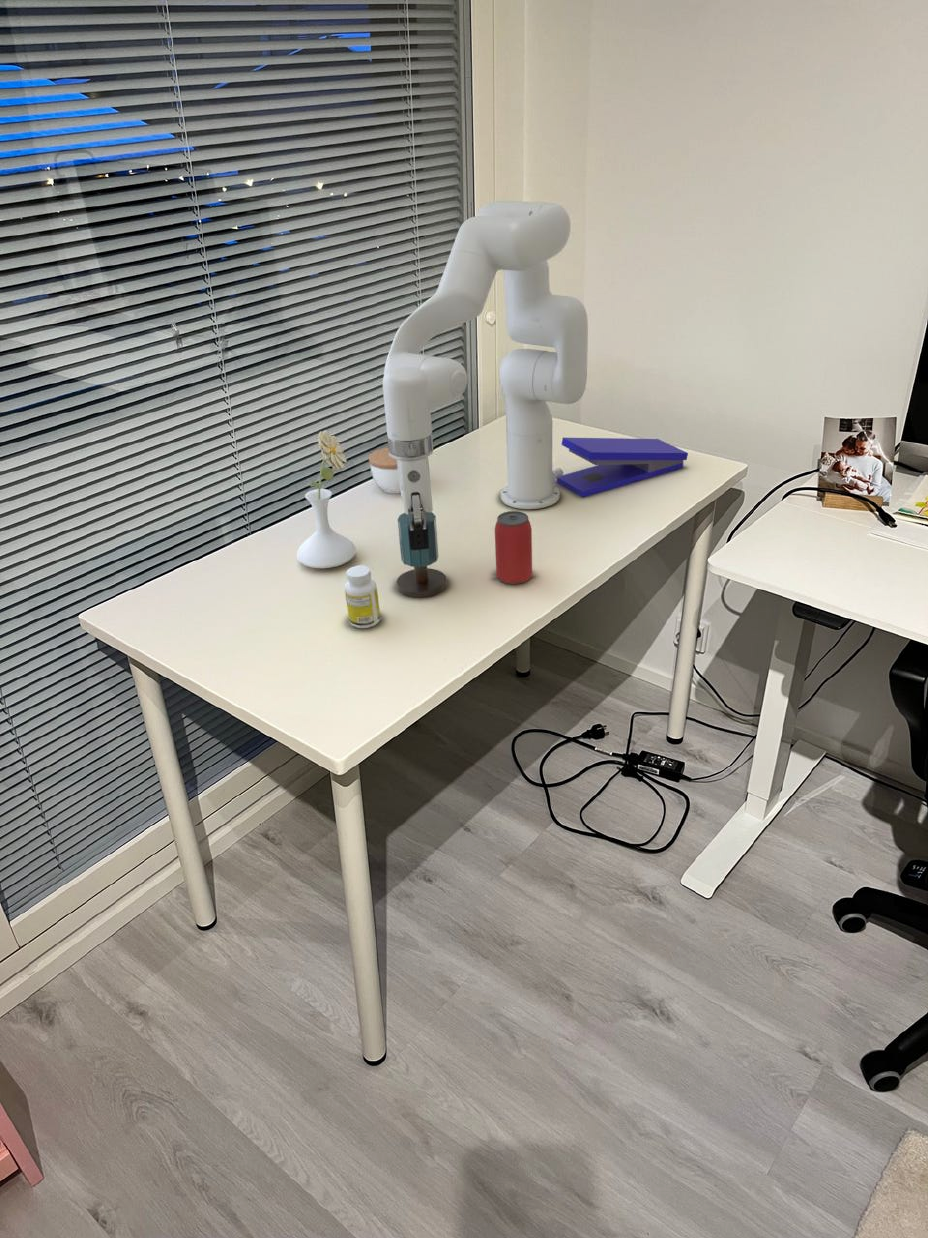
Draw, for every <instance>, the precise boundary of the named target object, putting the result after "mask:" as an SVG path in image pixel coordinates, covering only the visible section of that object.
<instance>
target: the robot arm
mask: <svg viewBox="0 0 928 1238" xmlns="http://www.w3.org/2000/svg"><path fill="white" fill-rule="evenodd" d="M570 219H571V218H570V215H569V213H568V211H567V210H566V209H565V207H563V206H562V205H561V204H559V203H555V202H541V201H539V202H537V201H523V200H522V201H521V200H497V201H490V202H487V203H485V204H484V205H482V206H481V207H480V208H479V210H478V213H477V215H475V216H472V217H469V218H467V219H466V220H464V222H463V223H462V224H461V225H460V227H459V228H458V232H457V234H456V236H455V240H454V241H453V244H452V248H451V250H450V253H449V256H448V259H447V261H446V264H445V267H444V270H443V273H442V275H441V278H440V281H439V284H438V287H437V289H436V291H435V292H434V294H433V295H432V296H431V297H430V298H428V299H427V300H425V301H424V302H423V303H421V304H420V305H419V306H418V307H417V308H416V309H415V310H414V311H413V312H412V313H411V314H410V315H408V316H407V318H405V320H404V321H403V322H402V323H401V325H400V326H399V328H398V329H397V331H396V333H395V335H394V337H393V340H392V342H391V346H390V349H389V350H388V354H387V357H386V360H385V363H384V369H383V378H382V394H383V395H382V396H383V403H384V415H385V416H384V417H385V425H386V427H385V428H386V435H387V437H386V438H387V447H388V448H389V455H390V456H391V457H392V458H394V459H397V467H398V476H399V484H400V490H401V493H400V496H401V500H402V501H401V502H402V506H403V509H404V510H403V511H404V513H406V514H407V515H409V521H410V528H409V538H410V549H411V550H422V549H428V548H429V542H428V529H427V527H426V521H425V511H426V512H429V513H431V512H432V513H433V511H434V507H433V506H434V505H433V496H432V483H431V471H430V462H429V461H430V460H429V457H430V456H431V455H432V454H433V453H434V442H433V441H434V440H433V439H434V437H433V427H432V426H433V425H432V423H433V422H432V409H434V408H438V407H443V406H446V405H450V404H453V403H454V402H456V401H457V400H459V399H460V398H461V396H462V395H463V394H464V393H465V391H466V388H467V385H468V373H467V371H466V369H465V367H464V366H463V364H462V363H460V362H459V361H457V360H455V359H452V358H448V357H441V356H434V355H427V354H421V351H422V349H423V348H424V347H425V346H426V344H427V343H428V342H430V340H432V339H433V338H434V337H435V336H437V335H438V334H440V333H442V332H445V331H446V330H447V331H448V330H449V329H452V328H455V327H457V326H460V325H463V324H466V323H468V322H470V321H473V320H474V319H477V318H478V317H479V316H480V315H481V314H482V313H483V310H484V309H485V305H486V303H487V299H488V297H489V294H490V291H491V288H492V285H493V282H494V280H495V277H496V275H497V272H498V271H503V278H504V300H505V301H504V303H505V304H504V305H505V325H506V332H507V335H508V337H509V338H510V339H511V340H512V341H513V342H516V343H520V344H523V345H524V344H525V345H529V346H538V347H547V348H548V347H549V348H554V349H555V351H549V350H541V349H532V348H517V349H513V350H511V351H509V352H507V353H506V354H505V355H504V356H503V358H502V360H501V362H500V365H499V381H500V386H501V390H502V395H503V401H504V411H505V433H506V434H505V436H506V437H505V438H506V439H505V440H506V442H505V443H506V476H507V477H506V479H507V485H506V486H505V487H504V488H502V490H501V491H500V500H501V501H502V503H504V505H507V506H508V507H512V508H515V509H520V510H539V509H543V508H547V507H551V506H552V505H555V503H557V502H558V501H559V500H560V497H561V492H560V489H559V488H558V487H557V486H556V485H555V482H556V481H557V478H559V477H560V476H562V475H564V471H563V469H562V468H560V467H557V468H555V469H553V415H552V412H551V409H550V406H549V405H548V403H549V402H550V403H555V404H566V405H572V404H575V403H577V402H579V401H580V400H581V399H582V397H583V395H584V393H585V391H586V386H587V381H588V380H587V379H588V345H589V321H588V320H589V319H588V313H587V310H586V308H585V305H584V303H583V302H582V301H581V300H579V299H578V298H576V297H573V296H568V295H560V294H552V292H551V288H550V266H549V263H548V261H549V260H551V259H552V258H554V257H556V256H557V255H559V253H561V252H562V250H563V249H564V248H565V247H566V245H567V242H568V241H569V238H570V234H571V220H570ZM547 402H548V403H547ZM421 510H422V511H421ZM411 511H413V512H411ZM408 513H409V514H408ZM412 515H414V519H413V521H412ZM421 515H422V519H421Z"/></svg>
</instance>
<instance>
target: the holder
mask: <svg viewBox="0 0 928 1238" xmlns="http://www.w3.org/2000/svg"><path fill="white" fill-rule="evenodd" d="M447 584H448V581H447V576H446V574H445V573H444V572H442V571H441V570H438V569H435V568H429V567H428V566H423V567H413V569H410V570H408V571H405V572H403V573H402V574H400V575H399V576H398V577H397V580H396V586H397V587H396V588H397V590H398V592H399V593H400V594H402V595H404V596H405V597H409V598H410V597H411V598H415V599H416V598H418V599H422V598H423V599H424V598H429V597H433V596H436V595H439V594H440V593H442V592H443V591H444V590H445V589H446V588H447Z"/></svg>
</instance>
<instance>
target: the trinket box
mask: <svg viewBox="0 0 928 1238" xmlns="http://www.w3.org/2000/svg"><path fill="white" fill-rule="evenodd" d="M368 462H369V468H370V473H371V477H372V479H373V481H374V483H375V484H376V485H377V486H378V487H379V488H380V489H382V491H383V492H384V493H387V494H391V495H393V494H395V495H396V494H401V490H400V484H399V476H398V467H397V459H394V458H392V457H391V456H390V455H389V448H388V446H386V447H383V448H379V449H377V450H374V451H373V452H372V453H370V454H369V456H368ZM388 490H389V491H388ZM397 490H398V491H397Z"/></svg>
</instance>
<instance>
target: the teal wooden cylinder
mask: <svg viewBox="0 0 928 1238" xmlns="http://www.w3.org/2000/svg"><path fill="white" fill-rule="evenodd" d="M421 511H422V510H421ZM411 512H413V511H411ZM408 514H409V513H408ZM413 519H414V515H412V521H413ZM421 519H422V515H421ZM425 521H426V527H427V529H428V542H429V548H428V549H422V550H411V549H410V538H409V528H410V521H409V515H407V514H406V513H405V512H403V513H401V514H400V515H399V516H398V518H397V527H398V537H399V539H398V540H399V549H400V561H401V562H402V563H403V564H404V565H405V566H408V567H413V568H414V567H423V566H427V567H429V566H431V565H433V564H434V563H437V561H438V559H439V545H438V543H439V542H438V530H437V516H436V515H435V513H433V511H432V512H431V513H429V512H426V511H425Z"/></svg>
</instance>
